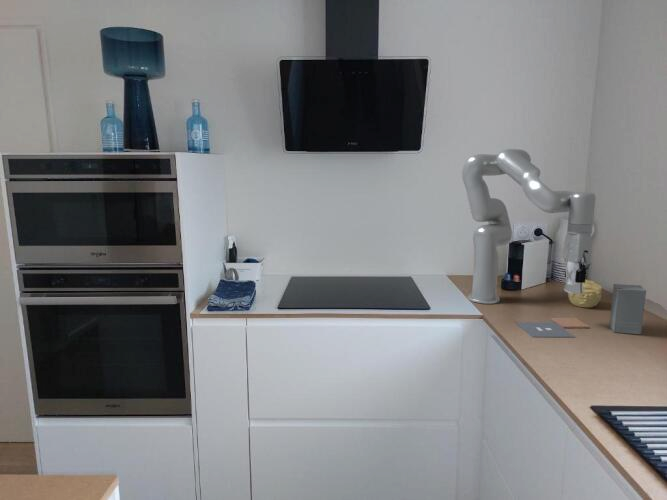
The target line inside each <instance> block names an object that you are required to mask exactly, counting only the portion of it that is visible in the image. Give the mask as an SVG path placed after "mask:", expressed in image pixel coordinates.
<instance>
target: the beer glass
mask: <svg viewBox="0 0 667 500" xmlns="http://www.w3.org/2000/svg"><path fill="white" fill-rule="evenodd" d="M564 261H565V260H564ZM580 262H585V261H584V258H582V259H581V261H580ZM564 265H565V268H564V269H566V277H565V285H564V288H563V291H564V292H566V293H573V294H582V293H583V283H576V282H575V277H576V271H578V270H577V266H578V263H574V262H572V250H569V249H567V255H566V261H565V263H564ZM582 265H584V264H580V266H582Z"/></svg>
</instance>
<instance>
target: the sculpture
mask: <svg viewBox="0 0 667 500" xmlns="http://www.w3.org/2000/svg"><path fill="white" fill-rule="evenodd" d="M602 289H603V286H602V285H600V284H599V283H597V282H595V281H594V280H589V279H585V283H583V293H582V294H573V293H568V292H567V293H568V294H567V295H568V299H569V301H570V303H571V304H572V305H573V306H576V307H579V308H585V309H587V308H588V309H589V308H590V309H591V308H594V307H596V306H597V305H598V304H599V302H600V301H601V297H602Z"/></svg>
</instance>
